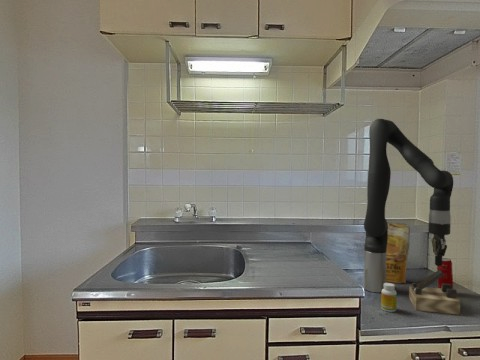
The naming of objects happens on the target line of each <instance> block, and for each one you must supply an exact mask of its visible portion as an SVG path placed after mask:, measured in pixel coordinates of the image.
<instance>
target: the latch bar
mask: <svg viewBox="0 0 480 360" xmlns="http://www.w3.org/2000/svg"><path fill="white" fill-rule="evenodd" d="M443 275H444V274H443V273H442V272H441V271H440V270H438V271H437V270H436V271H435V272H434V273H432V274H430V275H429V276H427V277H426V278H425V279H423V280H421V281H420V282H417V283H418V284H417V285H415V286H414V287H413V289H414V290H415V287H417V288H421V289H424V288H425V287H428V286H430V285H431V284H433V283H434V282H436V281H438V279H439V278H440V277H442V276H443Z"/></svg>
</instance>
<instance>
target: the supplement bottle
mask: <svg viewBox="0 0 480 360" xmlns="http://www.w3.org/2000/svg"><path fill="white" fill-rule="evenodd" d="M383 287H384V289H382V292H380V293H381V300H380V301H381V303H380V308H381V309H382V311H384V312H389V313H394V312H396V311H397V296H398V295H397V294H398V293H397V291H396V289H395V288H396V285H395V283H390V282H386V283H384V286H383Z"/></svg>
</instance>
